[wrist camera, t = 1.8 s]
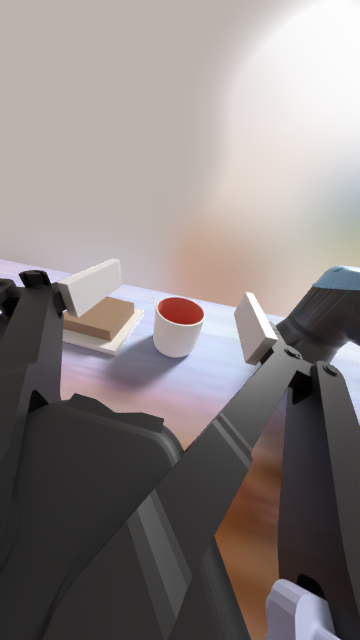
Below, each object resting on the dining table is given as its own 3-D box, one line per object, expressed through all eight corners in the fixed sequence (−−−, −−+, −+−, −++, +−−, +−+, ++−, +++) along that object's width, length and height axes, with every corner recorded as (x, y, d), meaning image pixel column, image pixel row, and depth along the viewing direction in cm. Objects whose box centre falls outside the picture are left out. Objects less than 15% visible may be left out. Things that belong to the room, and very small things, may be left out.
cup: (182, 368, 29) (193, 334, 23) (143, 346, 32) (144, 310, 26) (199, 340, 36) (211, 308, 30) (167, 323, 39) (172, 292, 33)
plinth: (144, 314, 40) (144, 301, 38) (115, 355, 28) (113, 340, 26) (94, 302, 41) (91, 288, 38) (47, 337, 29) (37, 320, 26)
